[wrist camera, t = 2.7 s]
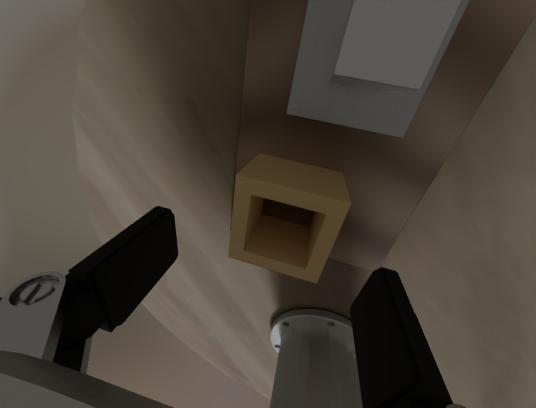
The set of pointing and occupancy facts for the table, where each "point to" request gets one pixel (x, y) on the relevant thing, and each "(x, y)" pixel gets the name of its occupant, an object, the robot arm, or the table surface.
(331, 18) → the grey stepped block
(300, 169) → the collar
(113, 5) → the table surface
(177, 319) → the table surface
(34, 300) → the robot arm
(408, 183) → the board
